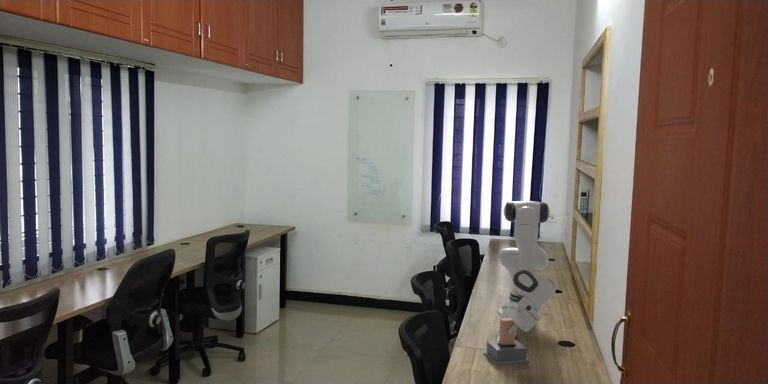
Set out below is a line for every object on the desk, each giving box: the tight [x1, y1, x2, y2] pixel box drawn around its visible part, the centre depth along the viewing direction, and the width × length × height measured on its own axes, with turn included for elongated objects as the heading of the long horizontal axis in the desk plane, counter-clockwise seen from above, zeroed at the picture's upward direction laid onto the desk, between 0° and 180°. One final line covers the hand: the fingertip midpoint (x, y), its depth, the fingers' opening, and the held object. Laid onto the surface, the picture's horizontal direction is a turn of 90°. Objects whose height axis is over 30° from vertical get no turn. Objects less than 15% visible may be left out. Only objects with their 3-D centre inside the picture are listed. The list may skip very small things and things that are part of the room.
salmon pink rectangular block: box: [499, 317, 516, 345], centre depth 235 cm, size 3×6×11 cm, turn 103°
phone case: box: [495, 329, 518, 341], centre depth 260 cm, size 9×2×16 cm
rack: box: [483, 338, 530, 366], centre depth 236 cm, size 12×16×6 cm
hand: (506, 330), depth 235 cm, fingers closed on salmon pink rectangular block, 3 cm apart
